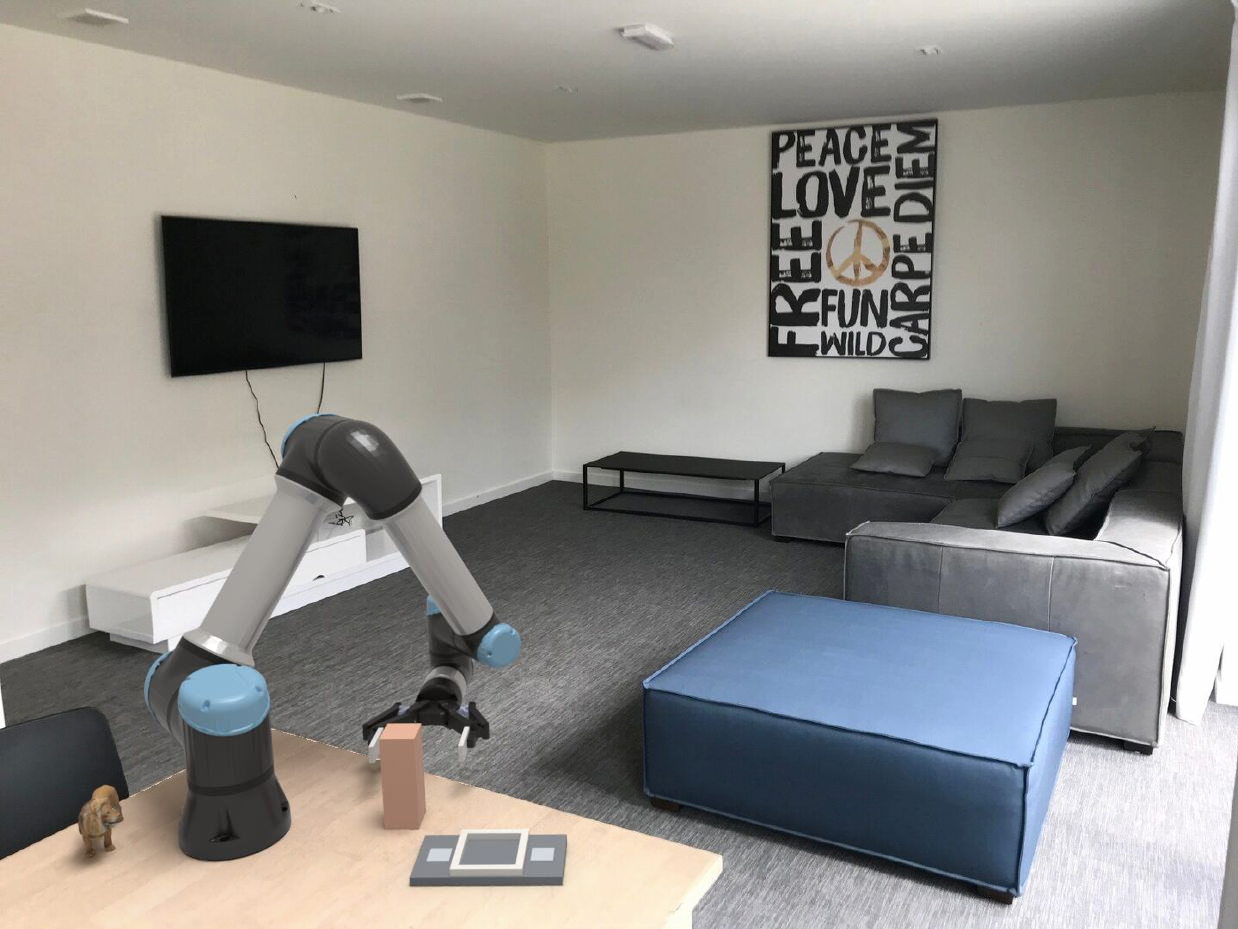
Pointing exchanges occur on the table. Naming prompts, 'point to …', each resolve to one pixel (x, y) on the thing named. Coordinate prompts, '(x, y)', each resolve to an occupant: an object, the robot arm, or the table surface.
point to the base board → (490, 859)
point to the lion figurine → (99, 818)
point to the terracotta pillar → (402, 776)
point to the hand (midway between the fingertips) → (416, 754)
